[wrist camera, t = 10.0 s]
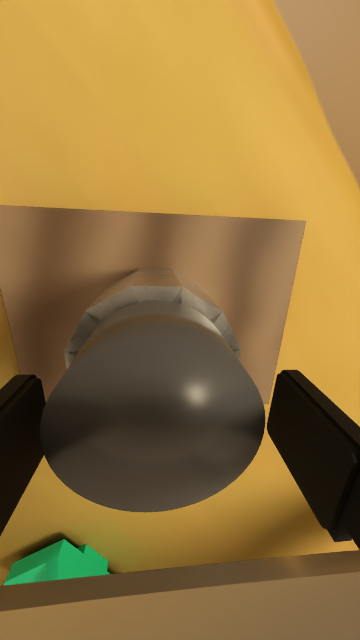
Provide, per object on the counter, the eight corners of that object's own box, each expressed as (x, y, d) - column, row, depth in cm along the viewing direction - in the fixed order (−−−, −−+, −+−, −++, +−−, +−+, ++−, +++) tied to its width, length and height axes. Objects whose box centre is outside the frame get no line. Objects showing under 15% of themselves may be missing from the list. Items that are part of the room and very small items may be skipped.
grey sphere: (218, 287, 13) (283, 337, 6) (208, 389, 15) (249, 503, 9) (92, 285, 12) (17, 339, 6) (102, 393, 14) (58, 520, 8)
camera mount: (13, 553, 27) (-67, 730, 17) (67, 527, 26) (16, 695, 17) (76, 593, 31) (40, 754, 21) (124, 571, 30) (109, 726, 21)
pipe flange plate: (289, 222, 17) (395, 210, 9) (258, 389, 22) (312, 467, 14) (2, 208, 15) (-154, 177, 7) (41, 397, 20) (-28, 493, 12)
